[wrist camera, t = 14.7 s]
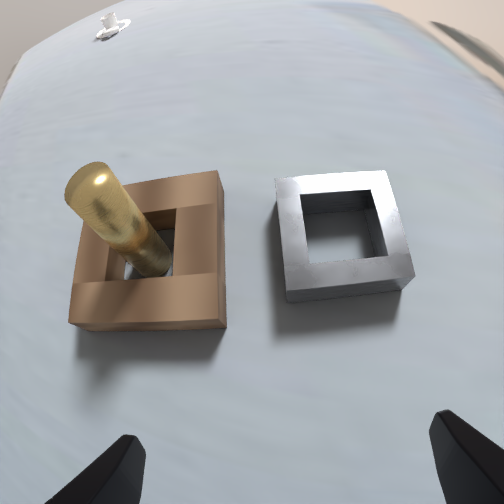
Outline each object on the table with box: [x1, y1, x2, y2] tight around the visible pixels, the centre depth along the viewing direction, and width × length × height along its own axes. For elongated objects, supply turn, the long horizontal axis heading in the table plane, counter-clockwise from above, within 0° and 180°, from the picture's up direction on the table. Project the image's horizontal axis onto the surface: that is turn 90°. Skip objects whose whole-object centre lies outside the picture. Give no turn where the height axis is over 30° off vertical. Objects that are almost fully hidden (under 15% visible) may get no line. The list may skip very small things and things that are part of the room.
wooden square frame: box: [68, 170, 227, 331], centre depth 25 cm, size 12×12×3 cm
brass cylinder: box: [64, 162, 172, 278], centre depth 21 cm, size 3×3×11 cm
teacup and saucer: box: [96, 13, 131, 38], centre depth 49 cm, size 9×8×4 cm
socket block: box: [275, 171, 415, 303], centre depth 24 cm, size 9×9×3 cm
